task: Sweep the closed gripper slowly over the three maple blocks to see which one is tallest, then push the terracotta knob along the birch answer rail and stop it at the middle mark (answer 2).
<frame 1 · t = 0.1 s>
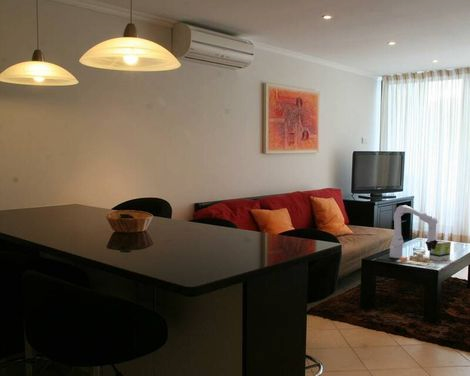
hand: (431, 250, 374), 10 cm above the table, tool pointing down, fingers open, 7 cm apart
short block right: (426, 262, 374), on the table
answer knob: (403, 262, 375), resting on answer rail, slide at 0.0 cm
tea box: (439, 259, 388), on the table
short block left: (412, 260, 382), on the table
answer rail: (412, 263, 372), on the table
tall block middle: (419, 261, 378), on the table
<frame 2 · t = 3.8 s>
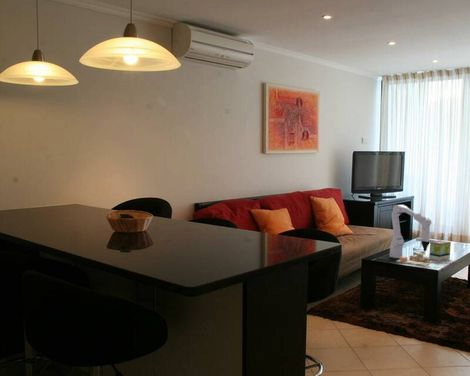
hand: (425, 250, 374), 9 cm above the table, tool pointing down, fingers closed
nothing on the table moved.
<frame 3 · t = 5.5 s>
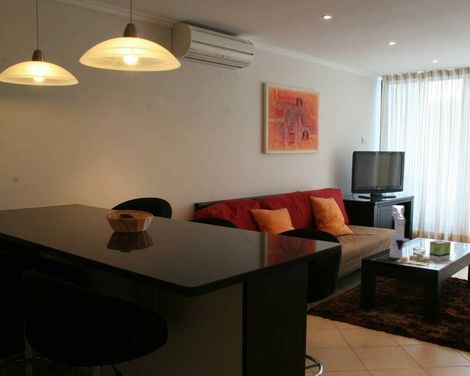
hand: (399, 249, 378), 9 cm above the table, tool pointing down, fingers closed
nothing on the table moved.
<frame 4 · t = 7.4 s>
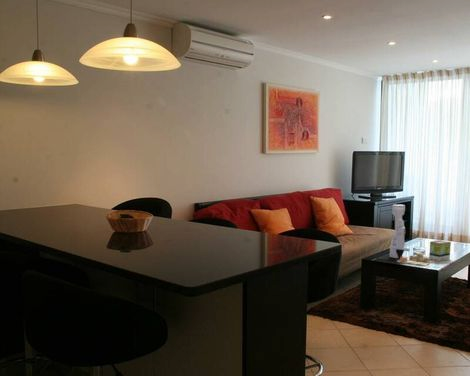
hand: (399, 259, 377), 2 cm above the table, tool pointing down, fingers closed
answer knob: (403, 262, 375), resting on answer rail, slide at 0.0 cm, touching gripper
everything else where it was.
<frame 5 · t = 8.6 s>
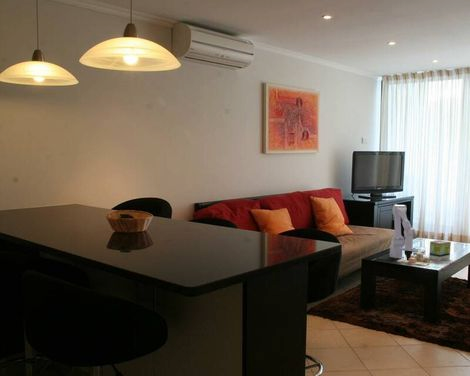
hand: (408, 260, 373), 2 cm above the table, tool pointing down, fingers closed
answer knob: (412, 263, 371), resting on answer rail, slide at 6.8 cm, touching gripper
everything else where it was.
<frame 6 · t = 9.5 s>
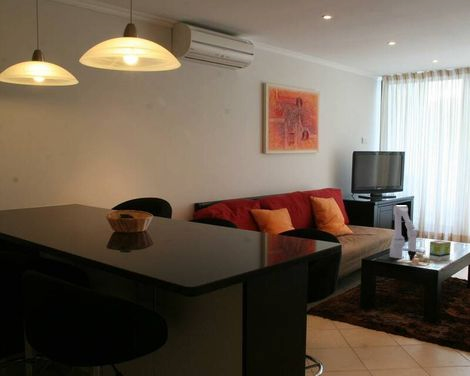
hand: (411, 260, 371), 2 cm above the table, tool pointing down, fingers closed
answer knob: (415, 264, 369), resting on answer rail, slide at 9.5 cm, touching gripper
everything else where it was.
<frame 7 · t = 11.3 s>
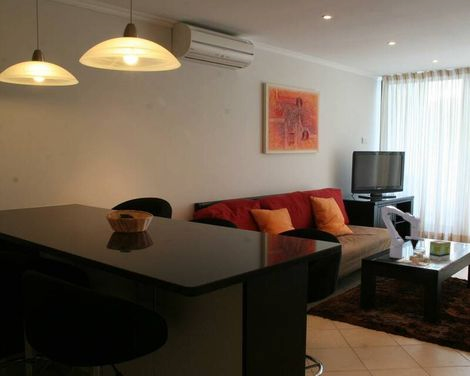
hand: (414, 248, 382), 9 cm above the table, tool pointing down, fingers closed
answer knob: (415, 264, 369), resting on answer rail, slide at 9.6 cm
everything else where it was.
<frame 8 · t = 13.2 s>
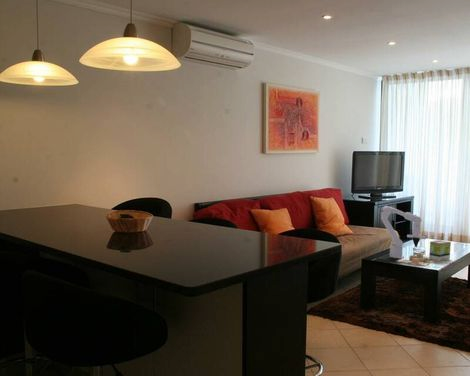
hand: (415, 246, 390), 9 cm above the table, tool pointing down, fingers closed
nothing on the table moved.
at the end: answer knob slide at 9.6 cm; tall block middle moved 0.1 cm from its start; short block left moved 0.1 cm from its start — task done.
